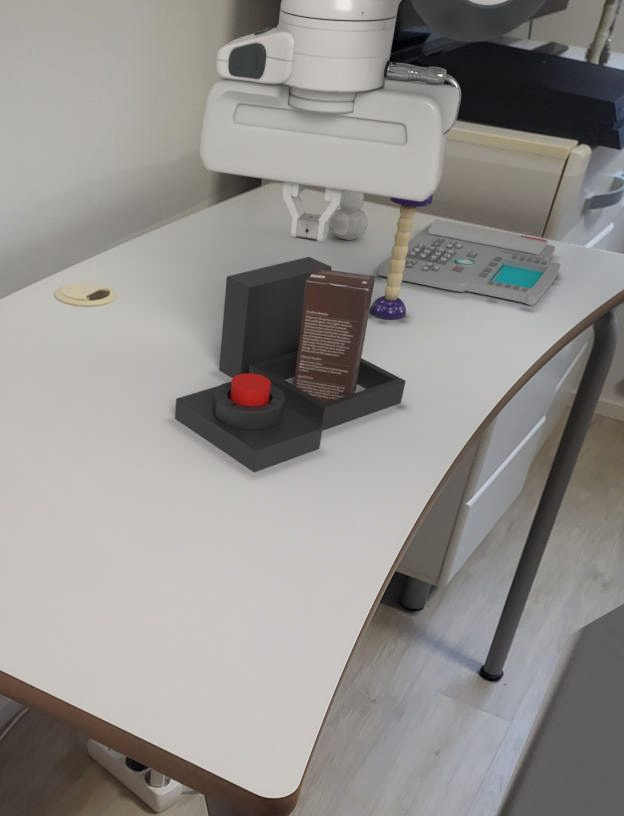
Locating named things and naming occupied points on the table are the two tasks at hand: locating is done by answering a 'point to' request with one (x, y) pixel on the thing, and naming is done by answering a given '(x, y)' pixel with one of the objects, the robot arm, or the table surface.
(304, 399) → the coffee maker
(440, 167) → the robot arm
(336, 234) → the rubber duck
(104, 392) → the table surface
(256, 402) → the power button
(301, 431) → the block
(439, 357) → the table surface
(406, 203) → the toy lamp
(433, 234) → the office telephone
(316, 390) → the box
